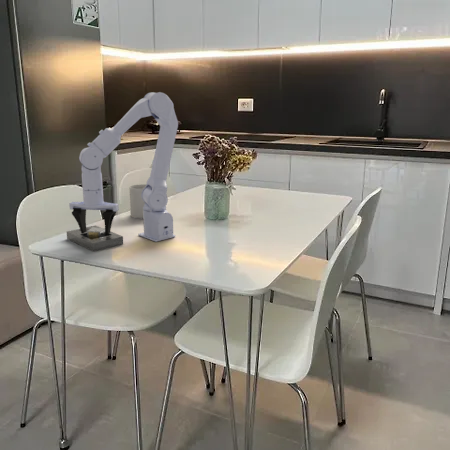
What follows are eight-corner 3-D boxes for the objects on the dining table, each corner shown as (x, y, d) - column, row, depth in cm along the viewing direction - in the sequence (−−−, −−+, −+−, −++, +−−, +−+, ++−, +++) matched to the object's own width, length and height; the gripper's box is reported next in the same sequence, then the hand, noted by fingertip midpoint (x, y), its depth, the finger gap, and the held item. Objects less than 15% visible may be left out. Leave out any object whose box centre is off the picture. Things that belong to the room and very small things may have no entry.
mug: (125, 216, 168) (124, 187, 165) (141, 211, 175) (140, 183, 172) (151, 221, 162) (150, 191, 159) (165, 216, 169) (165, 187, 166)
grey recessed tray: (123, 243, 137) (122, 236, 137) (93, 251, 130) (92, 243, 130) (96, 232, 148) (95, 225, 147) (67, 238, 141) (66, 231, 141)
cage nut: (106, 240, 141) (105, 227, 140) (100, 244, 137) (99, 232, 136) (93, 239, 142) (92, 227, 140) (87, 244, 137) (86, 231, 136)
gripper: (121, 187, 137) (123, 230, 141) (75, 185, 139) (78, 228, 143) (112, 192, 130) (115, 237, 134) (64, 190, 132) (68, 234, 136)
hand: (95, 233), depth 138 cm, fingers open, 7 cm apart
